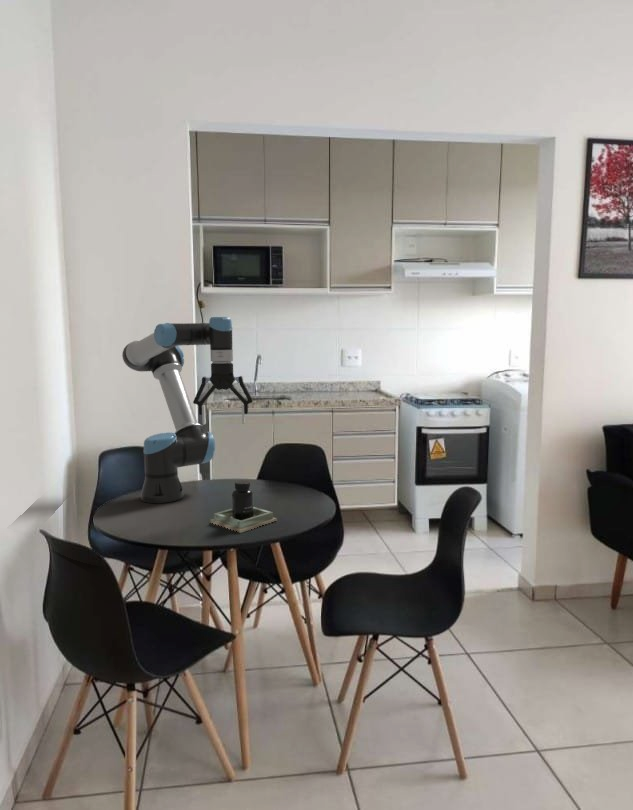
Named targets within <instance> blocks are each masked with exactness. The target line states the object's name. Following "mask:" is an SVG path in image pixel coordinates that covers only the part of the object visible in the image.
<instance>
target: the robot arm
mask: <svg viewBox="0 0 633 810" xmlns="http://www.w3.org/2000/svg"><path fill="white" fill-rule="evenodd" d="M206 345H208V346H209V345H210V346H209V348H210V349H209V350H210V362H212V363H211V364H210V377H207V376H203V377H201V383H200V386H199V388H198V391H197V392H196V395H195V397H194V399H193V401H192V403H191V401H190V398H189V395H188V392H187V390H186V386H185V384H184V381H183V377H182V375H181V372H182V371H183V366H184V364H185V359H184V357H185V355H184V352H183V350H182V348H181V346H206ZM233 350H234V349H233V323H232V318H231V317H229V316H213V317H212V316H211V317H210V318H209V320H208V322H203V323H202V322H198V323H197V322H196V323H195V322H193V323H192V322H191V323H189V322H188V323H185V322H184V323H183V322H182V323H179V322H178V323H170V322H165V323H158V324H157V325H155V328H154V331H153V332H152V333H151V334H149V335H148V336H145V337H143V338H142V339H140V340H134V341H131V342H129V343H128V344H126V346H125V347H124V348H123V350H122V355H121V356H122V359H123V363H124V364H125V365H126V366H127V367H128V368H129V369H131V370H132V371H137V372H142V373H143V372H151V373H152V376H153V378H154V379H155V380H158V381H159V384H160V387H161V390H162V393H163V395H164V398H165V402H166V405H167V409H168V411H169V414H170V418H171V419H172V422H173V423H172V424H173V426H174V428H175V432H162V433H161V432H160V433H157V434H153V435H150V436H148V437H146V438H145V439H144V441H143V461H144V462H143V463H144V465H143V466H144V482H143V485H142V487H141V488H142V489H141V492H140V500H141V501H142V502H144V503H149V504H164V503H172V502H175V501H179V500H181V499H183V498H184V489H183V486H182V484H181V480H180V478H179V476H178V475H179V472H178V469H179V468H181V467H182V468H183V467H189V466H195V465H202V464H206V463H209V462H211V461H212V460H213V458H214V455H215V451H216V450H215V449H216V440H215V438H214V437H215V436H214V435H213V433H212V432H210V431H205V428H204V425H206V424H207V419H206V417H207V416H206V404H204V403H205V402H206V401H207V400H208V399H209V397H210V396H211V394H213V392H214V391H215V390H218V391H221V390H225V391H226V390H229V389H230V391H232V392H233V394H234V395H235V396H236V398H238V399H239V400H240V401H241V424H242V425H245V424H246V415H247V414H248V413H249V404H252V403H253V401H254V400H253V398H252V395H251V394H250V392H249V390H248V388H247V386H246V385H245V382H244V376H243V375H240V376H235V375H234V363H233V361H234V355H233V354H234V353H233V352H234V351H233ZM235 381H236V382H237V384H239V386H240V387H241V389H242V391H243V393H244V396H243V395H242V394H241V392H240V391H239V390H238V389H237V388H236V386H235V385H234V383H235ZM209 382H210V383H211V384H212V386H211V387H210V389H208V391H207V392H206V393H205V395H204V396H203V397H202V398H201V396H202V393H203V391H204V389H205V387H206V385H207V384H209ZM245 396H246V398H245ZM200 398H201V399H200ZM192 404H194V405H197V406H198V414H199V415H200V416H202V417H201V418H202V420H201V421H202V424H200V423H199V422H198V419H197V417H196V414H195V412H194V409H193V406H192Z"/></svg>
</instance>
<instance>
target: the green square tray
mask: <svg viewBox="0 0 633 810" xmlns="http://www.w3.org/2000/svg"><path fill="white" fill-rule="evenodd" d="M274 521H277V522H278V518H277V517H274V512H273V511H269V510H266V509H263V508H259V507H255V506H254V517H251V518H248V519H245V520H238V519H234V518H232V508H229V509H224V510H222V511H218V512H215V513H213V518H212V519H210V520H209V522H210V524H212V523H213V524H212V525H215V524H216V525H215V526H218V525H219V526H218V527H221V526H222V527H221V528H224V527H225V528H224V529H227V528H228V529H227V530H230V529H231V530H230V531H233V530H234V531H233V532H236V531H237V532H236V533H239V534H242V533H245V532H248V531H252V530H254V528H255V529H257V527H258V528H260V527H259V526H261V527H263V526H262V525H264V526H266V525H265V524H267V525H269V524H268V523H270V524H272V523H271V522H274ZM274 523H275V522H274ZM251 529H252V530H251Z"/></svg>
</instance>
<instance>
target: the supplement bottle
mask: <svg viewBox="0 0 633 810" xmlns="http://www.w3.org/2000/svg"><path fill="white" fill-rule="evenodd" d="M254 505H255V504H254V492H253V490H252V489H251V482H250V481H249V480H239V481H238V480H237V481H235V482H234V490H233V491H232V492H231V509H232V518H234V519H238V520H245V519H248V518H251V517H254V507H255V506H254Z"/></svg>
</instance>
